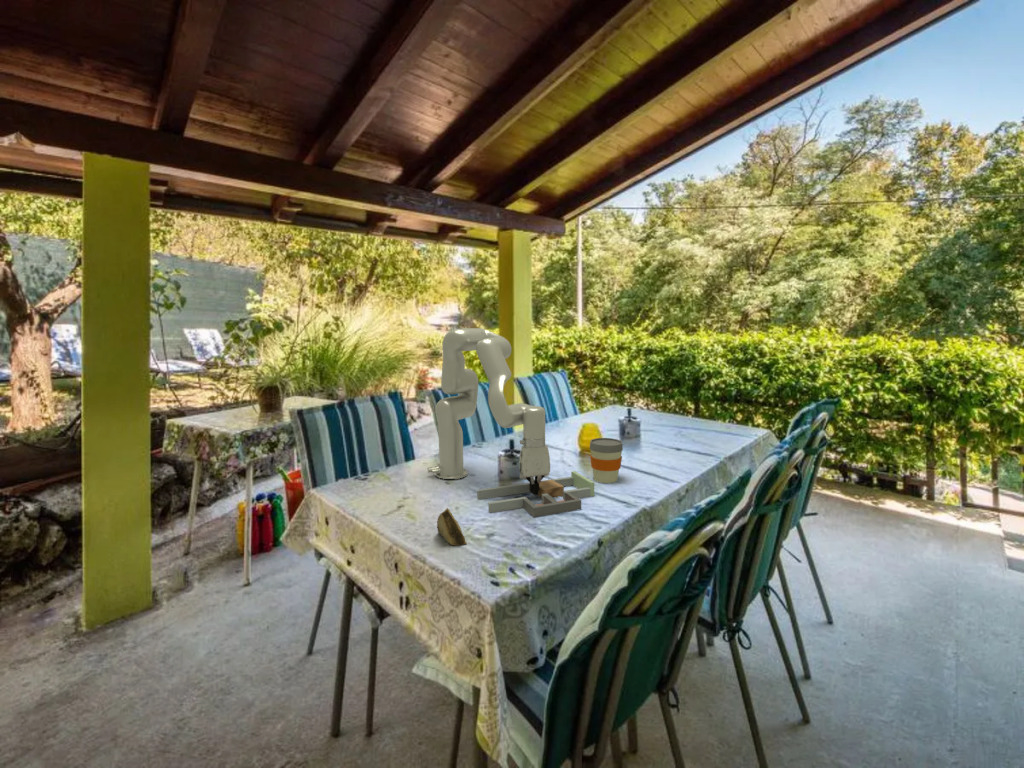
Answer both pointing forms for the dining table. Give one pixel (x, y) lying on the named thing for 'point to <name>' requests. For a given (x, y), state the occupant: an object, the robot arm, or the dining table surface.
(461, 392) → the robot arm
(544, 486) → the walnut block
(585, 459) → the dining table surface
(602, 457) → the reusable coffee cup
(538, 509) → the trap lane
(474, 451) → the dining table surface
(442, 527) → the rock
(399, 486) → the dining table surface
